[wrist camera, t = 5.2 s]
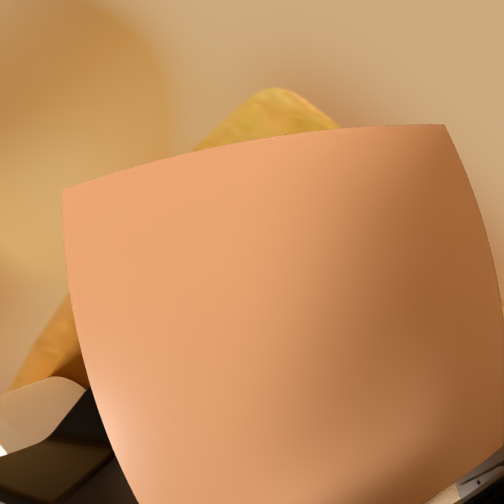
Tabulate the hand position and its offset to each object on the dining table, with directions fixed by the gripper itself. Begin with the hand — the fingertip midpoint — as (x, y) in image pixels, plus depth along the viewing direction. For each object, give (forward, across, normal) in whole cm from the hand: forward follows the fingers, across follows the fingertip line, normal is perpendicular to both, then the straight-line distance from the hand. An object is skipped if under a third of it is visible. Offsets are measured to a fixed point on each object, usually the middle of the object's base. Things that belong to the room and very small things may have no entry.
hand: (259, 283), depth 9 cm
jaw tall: (+4, 0, +6) cm, 7 cm away
